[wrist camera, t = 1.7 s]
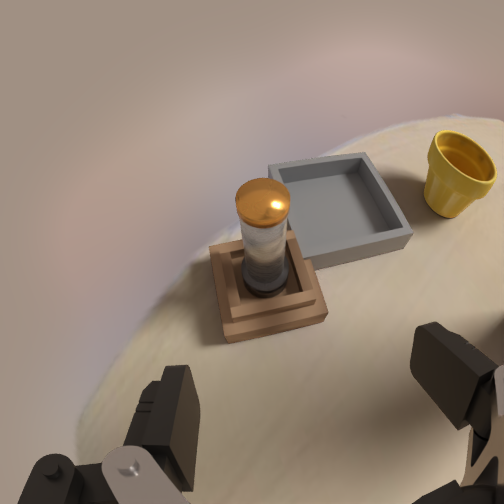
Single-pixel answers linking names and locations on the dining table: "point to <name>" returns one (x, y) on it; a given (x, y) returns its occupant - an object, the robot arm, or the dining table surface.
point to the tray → (341, 209)
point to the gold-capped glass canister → (264, 235)
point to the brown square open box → (269, 309)
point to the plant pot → (457, 173)
